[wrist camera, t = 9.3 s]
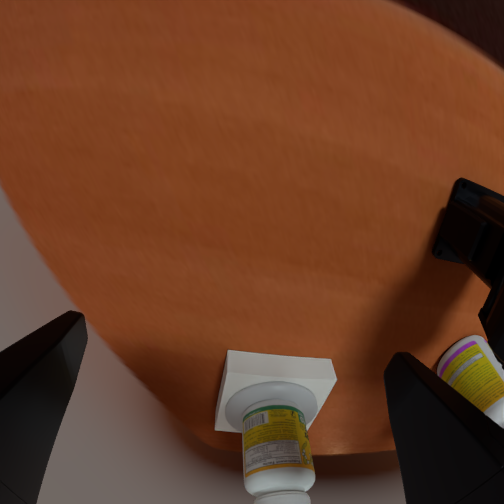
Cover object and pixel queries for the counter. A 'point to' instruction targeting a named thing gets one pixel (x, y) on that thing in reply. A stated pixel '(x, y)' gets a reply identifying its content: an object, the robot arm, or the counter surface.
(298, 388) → the scale
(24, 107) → the counter surface
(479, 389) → the supplement bottle
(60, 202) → the counter surface
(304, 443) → the supplement bottle
